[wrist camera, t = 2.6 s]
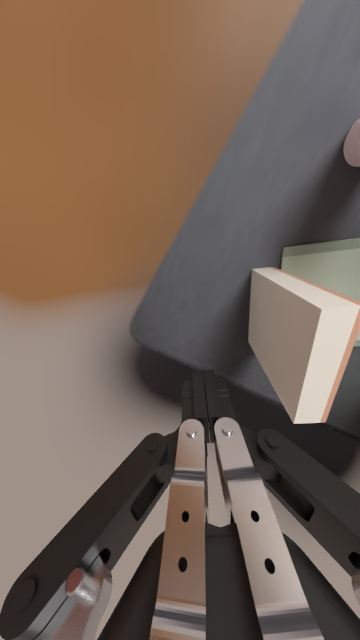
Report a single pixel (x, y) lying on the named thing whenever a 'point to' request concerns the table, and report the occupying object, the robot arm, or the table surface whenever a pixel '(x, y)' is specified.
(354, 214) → the table surface
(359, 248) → the mat
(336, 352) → the tile
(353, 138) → the smoothie
